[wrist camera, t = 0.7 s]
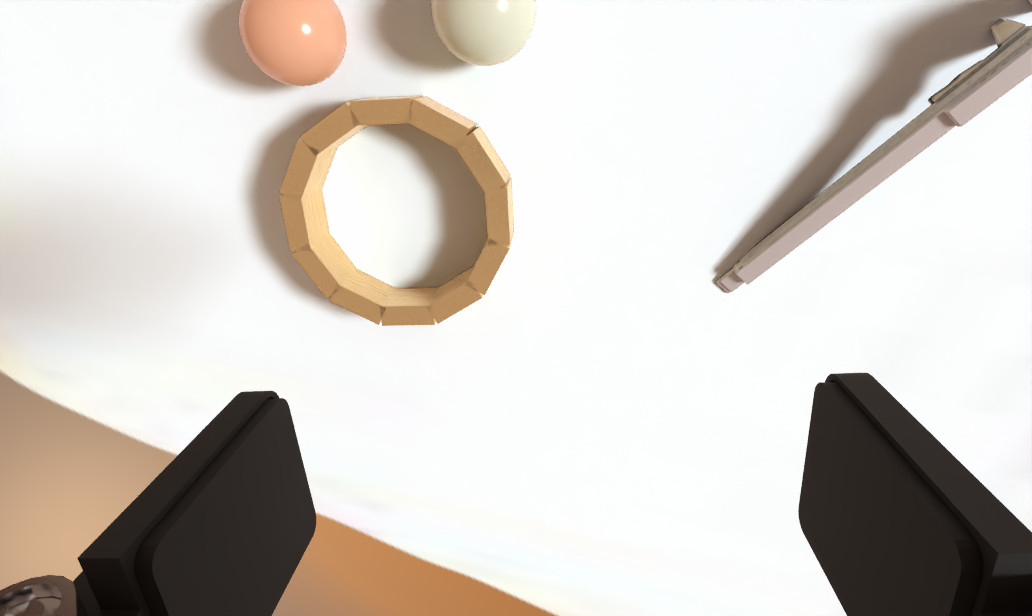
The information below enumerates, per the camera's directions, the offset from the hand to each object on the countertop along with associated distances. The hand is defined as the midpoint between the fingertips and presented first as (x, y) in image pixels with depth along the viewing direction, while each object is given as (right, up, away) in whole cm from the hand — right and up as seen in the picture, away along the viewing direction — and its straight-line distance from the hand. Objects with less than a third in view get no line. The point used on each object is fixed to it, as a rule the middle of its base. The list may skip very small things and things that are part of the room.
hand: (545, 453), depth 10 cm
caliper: (+18, +11, +22) cm, 31 cm away
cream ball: (-2, +17, +18) cm, 25 cm away
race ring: (-7, +8, +24) cm, 27 cm away
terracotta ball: (-12, +16, +19) cm, 27 cm away
